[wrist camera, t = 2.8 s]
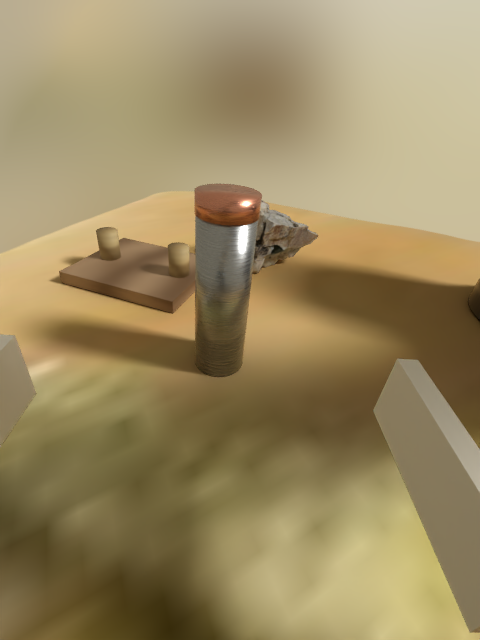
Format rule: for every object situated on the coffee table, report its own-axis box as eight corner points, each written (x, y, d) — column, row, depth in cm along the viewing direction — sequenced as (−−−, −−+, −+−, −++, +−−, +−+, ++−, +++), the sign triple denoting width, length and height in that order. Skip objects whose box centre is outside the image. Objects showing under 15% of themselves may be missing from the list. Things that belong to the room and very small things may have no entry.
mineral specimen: (243, 291, 44) (288, 309, 35) (197, 254, 39) (236, 265, 31) (283, 231, 44) (337, 236, 36) (242, 188, 40) (293, 182, 31)
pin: (249, 352, 26) (269, 190, 19) (233, 383, 23) (249, 205, 16) (206, 340, 26) (210, 180, 20) (185, 368, 24) (182, 193, 17)
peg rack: (216, 268, 37) (218, 234, 35) (173, 313, 29) (171, 272, 27) (124, 247, 40) (120, 214, 37) (61, 282, 32) (51, 243, 30)
